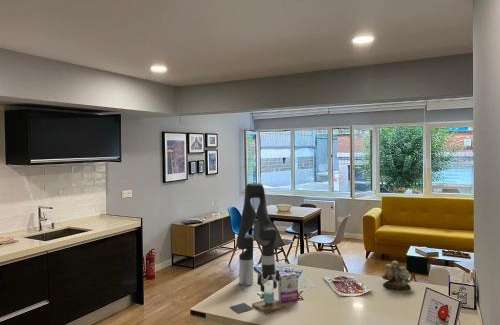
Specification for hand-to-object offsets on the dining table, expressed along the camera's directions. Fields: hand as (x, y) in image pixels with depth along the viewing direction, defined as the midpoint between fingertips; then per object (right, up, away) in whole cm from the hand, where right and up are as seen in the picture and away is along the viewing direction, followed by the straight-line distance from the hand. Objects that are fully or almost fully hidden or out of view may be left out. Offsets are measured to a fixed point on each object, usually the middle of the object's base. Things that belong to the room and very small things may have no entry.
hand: (268, 290), depth 217 cm
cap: (0, -7, 0) cm, 7 cm away
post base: (0, -10, +1) cm, 10 cm away
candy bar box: (+12, -10, +10) cm, 18 cm away
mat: (-16, -10, 0) cm, 19 cm away
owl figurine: (+85, -8, +28) cm, 90 cm away
